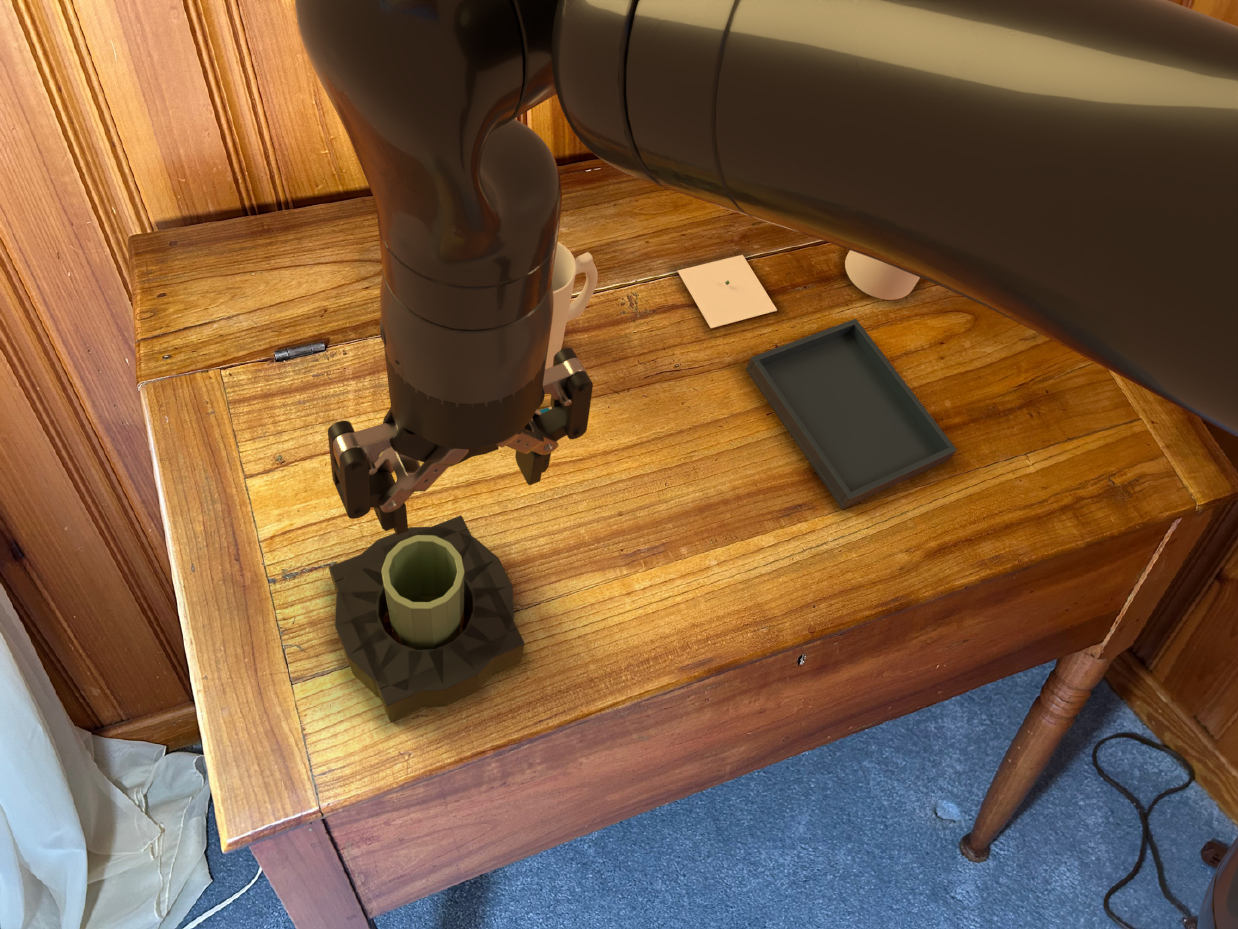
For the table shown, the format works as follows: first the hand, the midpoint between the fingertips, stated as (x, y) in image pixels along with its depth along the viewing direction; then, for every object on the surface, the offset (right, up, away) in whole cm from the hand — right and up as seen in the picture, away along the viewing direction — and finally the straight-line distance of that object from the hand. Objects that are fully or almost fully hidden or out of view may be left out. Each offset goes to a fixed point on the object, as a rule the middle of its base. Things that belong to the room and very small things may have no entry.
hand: (463, 495), depth 56 cm
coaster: (+21, +20, +41) cm, 50 cm away
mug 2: (+40, +24, +47) cm, 66 cm away
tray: (+32, +7, +35) cm, 48 cm away
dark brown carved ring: (-6, -11, +18) cm, 22 cm away
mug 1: (+2, +14, +34) cm, 37 cm away
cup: (-6, -11, +18) cm, 22 cm away
